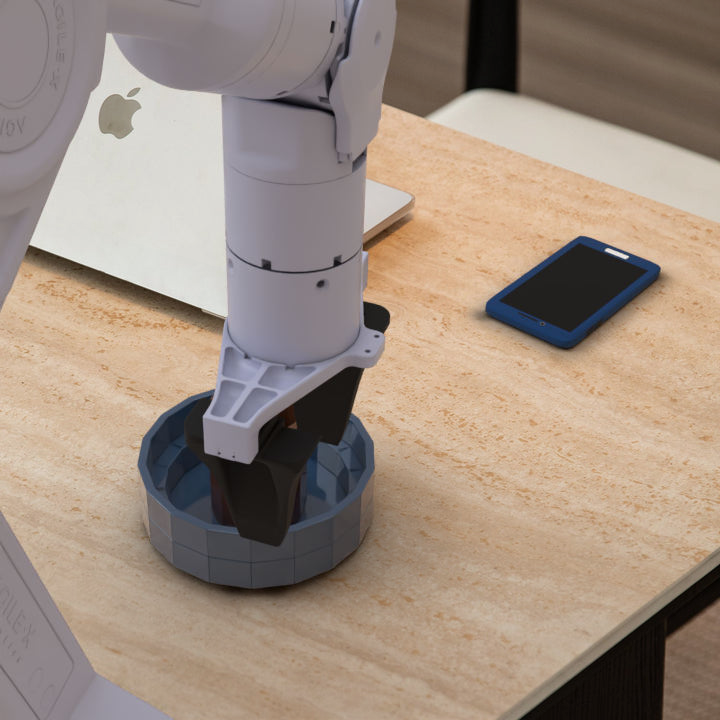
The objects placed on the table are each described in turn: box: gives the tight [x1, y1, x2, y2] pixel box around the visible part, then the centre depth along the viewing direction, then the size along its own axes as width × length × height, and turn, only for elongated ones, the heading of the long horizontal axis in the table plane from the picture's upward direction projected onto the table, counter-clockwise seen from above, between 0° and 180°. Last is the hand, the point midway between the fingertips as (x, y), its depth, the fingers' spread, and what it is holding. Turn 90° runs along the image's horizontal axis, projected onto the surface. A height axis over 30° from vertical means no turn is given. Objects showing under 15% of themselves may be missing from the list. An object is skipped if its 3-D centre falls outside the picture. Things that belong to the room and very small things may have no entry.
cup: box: [209, 394, 307, 527], centre depth 69 cm, size 5×6×7 cm
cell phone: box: [484, 235, 662, 349], centre depth 92 cm, size 7×14×1 cm, turn 141°
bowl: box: [136, 387, 376, 590], centre depth 70 cm, size 13×13×4 cm
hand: (293, 485), depth 59 cm, fingers open, 7 cm apart
